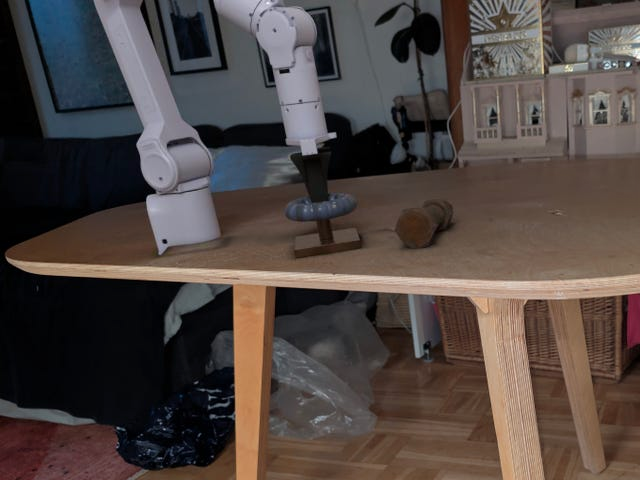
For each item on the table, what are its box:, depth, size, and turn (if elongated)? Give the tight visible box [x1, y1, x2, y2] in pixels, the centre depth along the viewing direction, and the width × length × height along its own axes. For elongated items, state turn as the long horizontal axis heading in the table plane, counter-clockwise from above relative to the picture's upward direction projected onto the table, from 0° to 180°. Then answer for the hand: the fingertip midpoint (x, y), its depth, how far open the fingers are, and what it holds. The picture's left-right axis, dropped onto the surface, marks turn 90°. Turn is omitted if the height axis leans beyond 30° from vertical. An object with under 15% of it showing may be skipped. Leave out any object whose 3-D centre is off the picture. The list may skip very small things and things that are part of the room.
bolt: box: [394, 198, 454, 249], centre depth 100 cm, size 6×5×15 cm
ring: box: [284, 192, 358, 223], centre depth 99 cm, size 10×10×2 cm
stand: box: [293, 219, 362, 259], centre depth 100 cm, size 9×9×6 cm
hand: (320, 201), depth 102 cm, fingers closed on ring, 2 cm apart
